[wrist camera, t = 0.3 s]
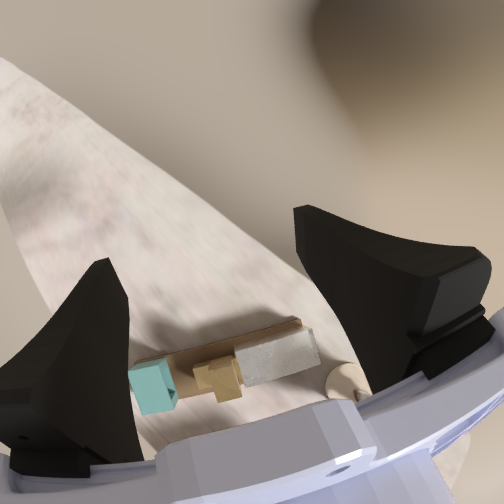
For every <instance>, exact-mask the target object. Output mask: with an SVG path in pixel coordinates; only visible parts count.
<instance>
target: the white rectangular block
mask: <svg viewBox="0 0 504 504" xmlns="http://www.w3.org/2000/svg"><path fill="white" fill-rule="evenodd" d="M233 346H234V351H235V355H236V358H237V362H238V365H239V368H240V371H241V375H242V378H243V381H244V384H245V388H247V387H250V386H254V385H258V384H261V383H264V382H268V381H271V380H274V379H278V378H281V377H284V376H287V375H290V374H294V373H297V372H300V371H303V370H306V369H308V368H311V367H314V366H317V365H320V364H321V361H320V358H319V354H318V350H317V346H316V342H315V338H314V334H313V331H312V328H309V327H306V326H304V325H301V326H298V327H295V328H291V329H288V330H285V331H282V332H278V333H275V334H272V335H268V336H265V337H262V338H258V339H255V340H251V341H248V342H244V343H240V344H237V345H233Z"/></svg>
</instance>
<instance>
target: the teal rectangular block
mask: <svg viewBox="0 0 504 504" xmlns="http://www.w3.org/2000/svg"><path fill="white" fill-rule="evenodd" d="M128 377H129V380H130V383H131V386H132V389H133V392H134V395H135V397H136V400H137V403H138V406H139V408H140V411H141V413H142V415H147V414H153V413H159V412H164V411H170V410H174V408H175V406H176V403H177V401H178V399H179V397H178V394H177V391H176V388H175V385H174V382H173V379H172V376H171V373H170V370H169V367H168V364H167V361H166V358H161V359H156V360H152V361H147V362H143V363H138V364H136V365H134V366H133V367H132V368H131V369H129V370H128Z"/></svg>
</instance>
